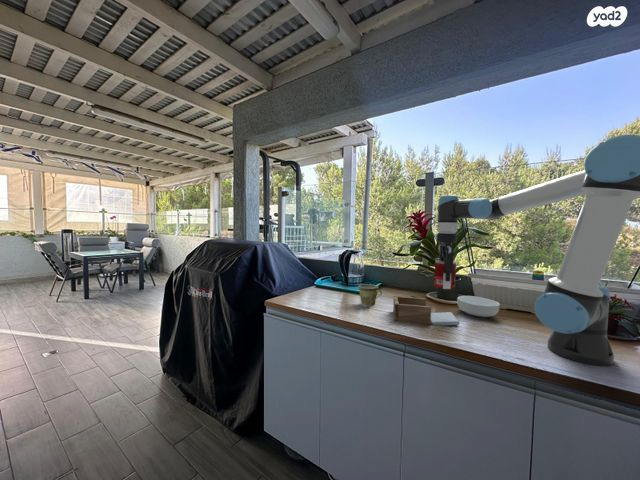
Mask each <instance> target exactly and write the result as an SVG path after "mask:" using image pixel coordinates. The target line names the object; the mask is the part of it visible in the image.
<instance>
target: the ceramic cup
mask: <svg viewBox="0 0 640 480" xmlns="http://www.w3.org/2000/svg"><path fill="white" fill-rule="evenodd" d="M358 291H359V296H360V304H361V306H362V307H364V308H371V307H373V306H375V305H376V300H377V299H378V298H379V297H381V295H382V294H383V292H382V290H381V289H379V286H378V285H375V284H371V283H369V284H368V283H360V284H359V285H358ZM378 292H379V293H380V294H379V295H378Z"/></svg>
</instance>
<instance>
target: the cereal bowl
mask: <svg viewBox="0 0 640 480" xmlns="http://www.w3.org/2000/svg"><path fill="white" fill-rule="evenodd" d="M456 299H457V301H456V302H457V306H458V308H459V309H460V311H463V312H464V313H465V314H468V315H471V316H474V317H480V318H490V317H493V316H495V315H497V314H498V313H499V311H500V307H501V305H500V303H499V302H498V301H497V300H496V301H495V300H493V299H489V298H486V297H481V296H475V295H474V296H473V295H461V296H458V297H457V298H456Z"/></svg>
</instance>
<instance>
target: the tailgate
mask: <svg viewBox="0 0 640 480" xmlns="http://www.w3.org/2000/svg"><path fill="white" fill-rule="evenodd" d="M459 321H460V320H458V319H457V317H456V316H455V315H454V314H453V313H452V311H449V312H448V311H447V312H445V311H444V312H431V323H433V325H439V326H459V325H460V322H459Z"/></svg>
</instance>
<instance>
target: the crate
mask: <svg viewBox="0 0 640 480" xmlns="http://www.w3.org/2000/svg"><path fill="white" fill-rule="evenodd" d="M392 309H393V310H392V311H393V318H394V322H396V323H406V324H414V325H415V324H417V325H427V326H428V325H429V326H434V324H433V323H431V313H432V307H431V306H428V305H427V299H426V298H425V297H412V296H400V295H398V296H397V295H393V308H392Z"/></svg>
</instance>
